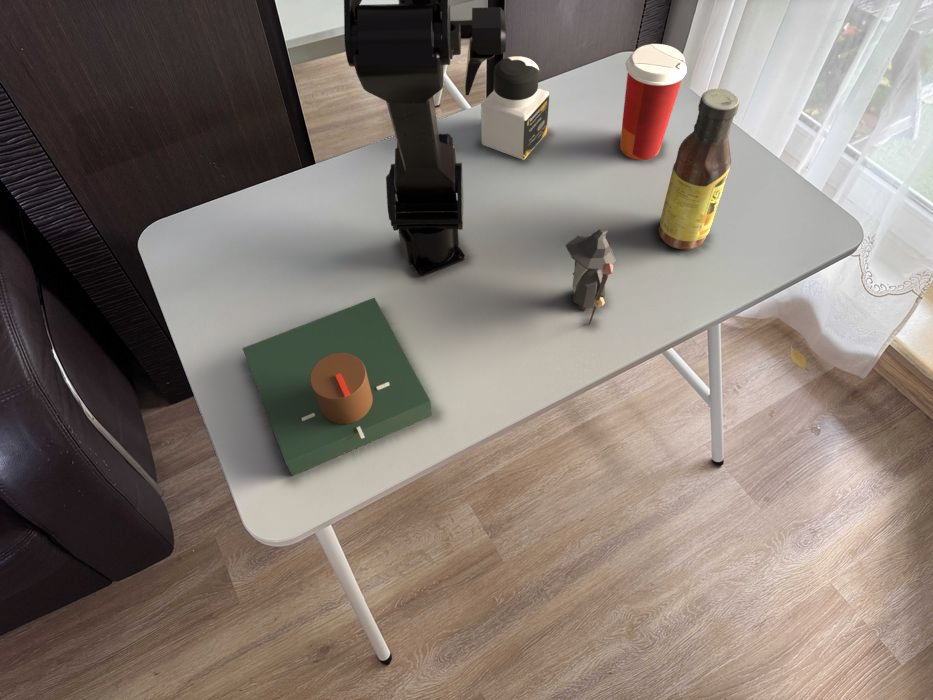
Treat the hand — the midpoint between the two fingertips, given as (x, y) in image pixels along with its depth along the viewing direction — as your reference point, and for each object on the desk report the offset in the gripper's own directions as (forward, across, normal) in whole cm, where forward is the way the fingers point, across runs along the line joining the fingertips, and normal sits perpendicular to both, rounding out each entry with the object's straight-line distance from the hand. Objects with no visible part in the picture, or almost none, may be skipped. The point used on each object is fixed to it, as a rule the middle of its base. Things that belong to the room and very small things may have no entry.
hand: (431, 94), depth 91 cm
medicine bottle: (+12, +11, +6) cm, 18 cm away
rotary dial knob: (+9, -8, -40) cm, 42 cm away
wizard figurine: (+12, +20, -25) cm, 34 cm away
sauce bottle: (+12, +32, -13) cm, 37 cm away
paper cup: (+12, +29, +4) cm, 32 cm away
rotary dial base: (+12, -10, -37) cm, 40 cm away
